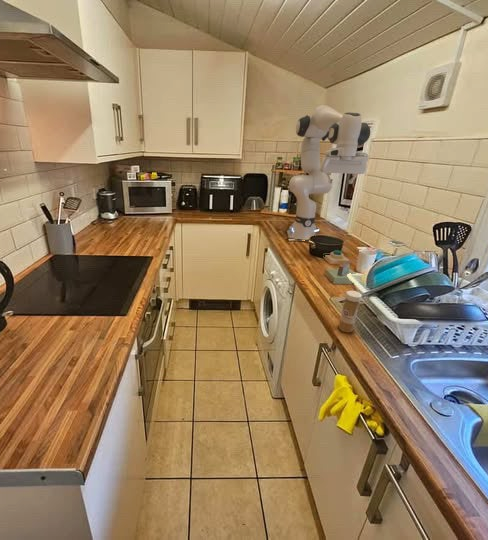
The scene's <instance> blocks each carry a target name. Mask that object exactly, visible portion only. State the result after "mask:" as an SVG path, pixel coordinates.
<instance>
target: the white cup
mask: <svg viewBox="0 0 488 540" xmlns="http://www.w3.org/2000/svg"><path fill="white" fill-rule="evenodd" d="M377 255H378V253H377V252H376V251H375V250H372V249H367V248H361V249H359V250H358V253H357V259H356V266H355V271H356V273H360V274H364V272H365V271H366V270H367V269H368V268H369V267H370V266H371V265H372V264H373V263H374V264H375V263H376V262H375V261H376V258H377Z"/></svg>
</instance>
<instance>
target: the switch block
mask: <svg viewBox="0 0 488 540" xmlns="http://www.w3.org/2000/svg"><path fill="white" fill-rule="evenodd" d="M333 253H334V251H331V252H330V253H329V254H330V255H325V257H324V256H322V258H323V259H324V260H325V261H326V262H327V263H328V264H329V265H342V264H344V263H345V262H347V263H350V264H351V260H350V259H349V258H348V257H346V256H345V254H344V253H343V252H341V255H335V254H333Z"/></svg>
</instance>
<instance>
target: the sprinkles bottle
mask: <svg viewBox="0 0 488 540" xmlns="http://www.w3.org/2000/svg"><path fill="white" fill-rule="evenodd" d="M362 295H363V294H362V293H360V292H359V291H356V290H347V291H346V293H345V296H344V297H345V299H344V303H343V307H342V310H341V315H340V321H339V324H338V329H339V330H340V331H341V332H343V333H352V332H353V331H354V326H355V322H356V319H357V315H358V311H359V306H360V302H361V301H362V298H363V296H362Z"/></svg>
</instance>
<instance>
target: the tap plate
mask: <svg viewBox="0 0 488 540" xmlns="http://www.w3.org/2000/svg"><path fill="white" fill-rule="evenodd" d="M338 269H339V267H336V268H325V271H324V276H325V277H326V278H327V279H328V281H330V282H331V283H332V284H333V285H353V284H352V283H351V282H350V281H349V279H348V277H347V274H349V273H351V274H357V272H355V271H354V270H353V269H352V268H349V271H348V272H347V273H345V274H344V275H343V276H339V275H337V274H338Z"/></svg>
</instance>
